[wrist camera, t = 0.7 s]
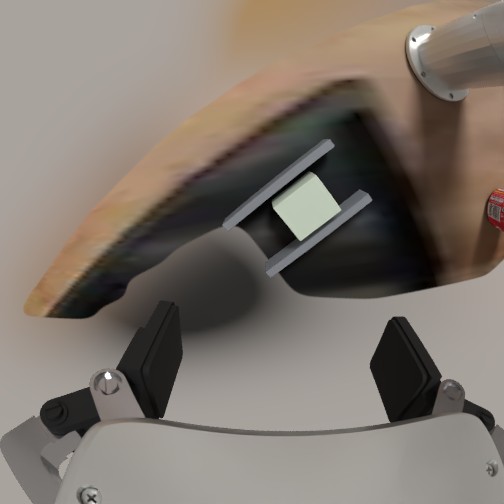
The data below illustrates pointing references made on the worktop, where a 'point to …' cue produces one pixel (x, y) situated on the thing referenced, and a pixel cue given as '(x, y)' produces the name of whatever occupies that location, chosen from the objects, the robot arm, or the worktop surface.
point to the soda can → (496, 209)
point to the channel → (300, 247)
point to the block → (305, 205)
